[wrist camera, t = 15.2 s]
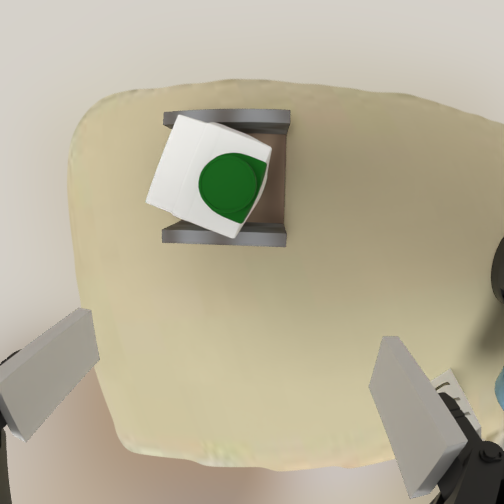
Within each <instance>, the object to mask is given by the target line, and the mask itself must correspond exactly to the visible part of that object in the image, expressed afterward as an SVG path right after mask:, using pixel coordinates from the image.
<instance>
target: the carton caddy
mask: <svg viewBox="0 0 504 504" xmlns="http://www.w3.org/2000/svg"><path fill="white" fill-rule="evenodd" d="M178 115H183V116H187V117H190V118H194V119H197V120H200V121H204V122H207V123H210V122H216V123H219V124H222V125H225V126H227V127H229V128H232V129H234V130H237V131H240V132H242V133H245V134H247V135H250V136H252V137H253V138H255V139H257V140H259V141H261V142H262V143H264V144H266V145H268V146H270V147H271V148H272V151H271V156H270V161H269V167H268V177H267V182H266V185H265V188H264V191H263V193H262V195H261V197H260V199H259V201H258V203H257V204H256V206H255V208H254V209H253V211H252V212H251V214H250V215H249V217H248V218H247V220H246V221H245V223H244V225H243V226H242V228H241V229H240V231H239V232H238V234H237V236H236V237H235V238H233V239H232V238H230V237H227V236H224V235H222V234H219V233H217V232H214V231H211V230H209V229H206V228H204V227H201V226H199V225H196V224H194V223H191V222H189V221H185V220H182V219H181V221H179V222H177V223H175V224H173V225H171V226H169V227H167V228H164V229H162V243H186V244H215V245H242V246H269V247H286V237H287V233H286V230H285V227H284V224H283V222H284V197H285V166H286V134H287V131H288V128H289V125H290V110H276V109H208V110H188V111H173V112H164V119H163V125H165V126H167V127H169V128H171V129H173V126H174V124H175V121H176V119H177V117H178Z"/></svg>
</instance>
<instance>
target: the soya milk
mask: <svg viewBox="0 0 504 504" xmlns="http://www.w3.org/2000/svg"><path fill="white" fill-rule="evenodd" d="M271 151H272V148H271V147H270V146H268V145H266V144H264V143H262V142H261V141H259V140H257V139H255V138H253V137H252V136H250V135H247V134H245V133H242V132H240V131H237V130H234V129H232V128H229V127H227V126H225V125H222V124H219V123H216V122H210V123H207V122H204V121H200V120H197V119H194V118H190V117H187V116H183V115H178V117H177V119H176V121H175V124H174V126H173V129H172V131H171V133H170V136H169V138H168V141H167V143H166V146H165V149H164V151H163V154H162V156H161V159H160V162H159V164H158V167H157V170H156V173H155V175H154V178H153V181H152V184H151V187H150V190H149V193H148V196H147V199H146V203H148V204H150V205H153V206H155V207H158V208H160V209H163V210H165V211H167V212H170V213H172V215H173V216H175V217H178V218H180V219H182V220H185V221H189V222H191V223H194V224H196V225H199V226H201V227H204V228H206V229H209V230H211V231H214V232H217V233H219V234H222V235H224V236H227V237H230V238H232V239H233V238H235V237H236V236H237V234H238V232H239V231H240V229H241V228H242V226H243V225H244V223H245V221H246V220H247V218H248V217H249V215H250V214H251V212H252V211H253V209H254V208H255V206H256V204H257V203H258V201H259V199H260V197H261V195H262V193H263V191H264V188H265V185H266V182H267V177H268V167H269V161H270V156H271Z"/></svg>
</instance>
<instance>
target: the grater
mask: <svg viewBox="0 0 504 504" xmlns="http://www.w3.org/2000/svg"><path fill="white" fill-rule="evenodd" d="M430 382H431V384H432V385H433V387H434V388H436V387H438V386H439V385H441V384H443V383H445V382H449V383H450V385H444V386H443V387H441V388H440V389H438V390H437V393H441V392H445V393H447V394H448V395H449V396H451V397H452V398H453V399H454V398H456V399H455V401H456V402H457V404H458V405H459V407H460V410H462V411H463V413H464V414H465V417H467V418H468V420H469V421H470V423H471V424H472V426H473V427H474V429H475V431H476V432H477V434H478V435H479V437H480V438H481V426H480V424H479V422H478V419H477V417H476V415H475V413H474V411H473V409H472V408H471V406H470V404H469V402H468V400H467V398H466V396H465V394H464V392H463V390H462V389H461V387H460V385H459V383H458V381H457V379H456V378H455V376H454V374H453V372H452V371H451V369H450V368H449V369H448V370H446V371H445V372H443V373H442V374H440V375H439V376H437V377H436V378H434V379H433V380H431V381H430Z"/></svg>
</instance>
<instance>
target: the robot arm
mask: <svg viewBox="0 0 504 504" xmlns="http://www.w3.org/2000/svg"><path fill="white" fill-rule="evenodd" d="M491 279H492V288H493V292H494V294H495V296H496V298H497V299H498V300H499V301H500V302H502V303H504V238H503V240H502V241H501V243H500V245H499V247H498V249H497V252H496V254H495V258H494V261H493V266H492V276H491ZM99 360H100V357H99V352H98V347H97V342H96V337H95V331H94V325H93V319H92V312H91V310H88V309H83V308H78V309H76V310H75V311H74V312H72V313H71V314H69V315H68V316H66V317H65V318H64V319H62V320H61V321H59V322H58V323H57V324H55V325H54V326H53V327H51V328H50V329H48V330H47V331H46V332H44V333H43V334H42V335H40V336H39V337H38V338H36V339H35V340H33V341H32V342H31V343H30V344H28V345H27V346H25V347H24V348H23V349H21V350H19V351H16V352H14V353H13V354H11V355H10V356H9V357H8V358H7V359H5V360H4V361H2V362H1V364H0V504H12V501H11V494H10V487H9V479H8V467H7V451H6V434H5V431H4V429H3V427H5V426H6V425H8V427H9V429H10V430H11V432H12V434H13V435H14V436H15V437H17V438H19V439H20V440H22V441H24V442H27V441H28V440H29V439H30V438H31V436H32V435H33V434H34V433H35V432H36V430H37V429H38V428H39V427H40V426H41V425H42V423H43V422H44V421H45V420H46V419H47V417H49V415H50V414H51V413H52V412H53V411H54V410H55V409H56V407H57V406H58V405H59V404H60V403H61V402H62V401H63V400H64V398H65V397H66V396H67V395H68V394H69V393H70V392H71V390H72V389H73V388H74V387H75V386H76V385H77V384H78V383H79V382H80V381H81V379H82V378H83V377H84V376H85V375H86V374H87V373H88V372H89V370H91V368H92V367H93V366H94V365H95V364H96V363H97V362H98V361H99ZM369 389H370V392H371V394H372V397H373V399H374V402H375V404H376V407H377V409H378V412H379V414H380V417H381V420H382V422H383V425H384V428H385V430H386V433H387V435H388V438H389V441H390V444H391V446H392V449H393V452H394V455H395V457H396V460H397V463H398V465H399V469H400V471H401V474H402V477H403V480H404V483H405V486H406V489H407V492H408V495H409V498H410V499H411V498H416V497H420V496H424V495H427V494H430V492H431V491H432V490H433V489H434V488H435V486H436V485H438V487H439V489H440V492H439V494H438V495H437V496H436V497H435V498H434V499H433V501H432V502H431V503H430V504H504V451H503V450H502V448H501V447H500V446H499V445H498V444H496V443H493V442H490V441H482V440H481V438H480V437H479V435H478V434H477V432H476V431H475V429H474V427H473V426H472V424H471V423H470V421H469V420H468V418H467V417H465V414H464V413H463V411H462V410H460V407H459V405H458V404H457V402H456V401H455V400H454V399H453V398H452V397H451V396H449V395H448V394H447V393H445V392H441V393H437V391H436V390H435V388H434V387H433V385H432V384H431V382H430V381H429V379H428V378H427V376H426V375H425V373H424V372H423V371H422V369H421V368H420V366H419V365H418V363H417V362H416V360H415V359H414V358H413V356H412V355H411V353H410V352H409V351H408V349H407V348H406V346H405V345H404V344H403V342H402V341H401V339H400V338H399V337H398V336H383V337H382V341H381V345H380V349H379V353H378V356H377V360H376V364H375V367H374V371H373V374H372V377H371V381H370V384H369ZM495 394H496V398H497V400H498V402H499V404H500V406H501V407H502V409H503V410H504V367H503V369H502V371H501V373H500V374H499V376H498V378H497V380H496V383H495Z"/></svg>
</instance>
